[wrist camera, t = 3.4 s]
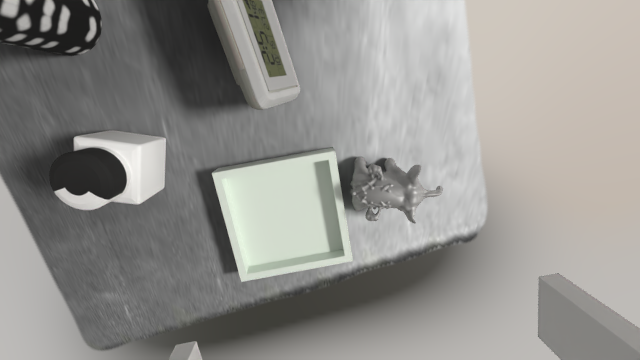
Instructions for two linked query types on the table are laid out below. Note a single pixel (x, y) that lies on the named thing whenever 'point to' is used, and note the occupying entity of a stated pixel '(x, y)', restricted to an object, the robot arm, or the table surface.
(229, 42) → the digital clock
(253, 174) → the tray
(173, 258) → the table surface
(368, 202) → the elephant statuette
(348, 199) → the table surface
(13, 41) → the spotted tube
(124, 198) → the medicine bottle
